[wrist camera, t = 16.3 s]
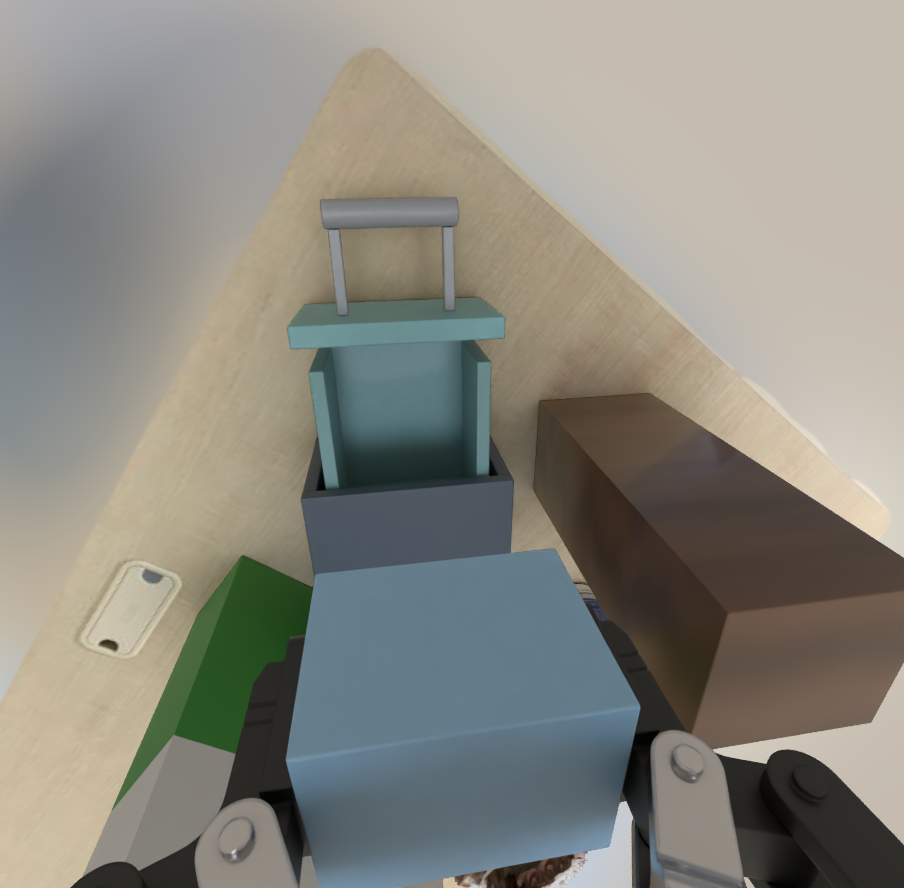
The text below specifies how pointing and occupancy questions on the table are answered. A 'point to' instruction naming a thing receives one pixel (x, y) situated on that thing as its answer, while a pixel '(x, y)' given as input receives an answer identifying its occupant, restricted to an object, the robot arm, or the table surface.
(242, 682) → the hardback book
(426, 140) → the table surface
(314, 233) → the table surface
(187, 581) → the table surface
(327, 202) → the drawer
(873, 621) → the wooden stand
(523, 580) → the blue rectangular block
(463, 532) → the cabinet
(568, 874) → the decorative box
